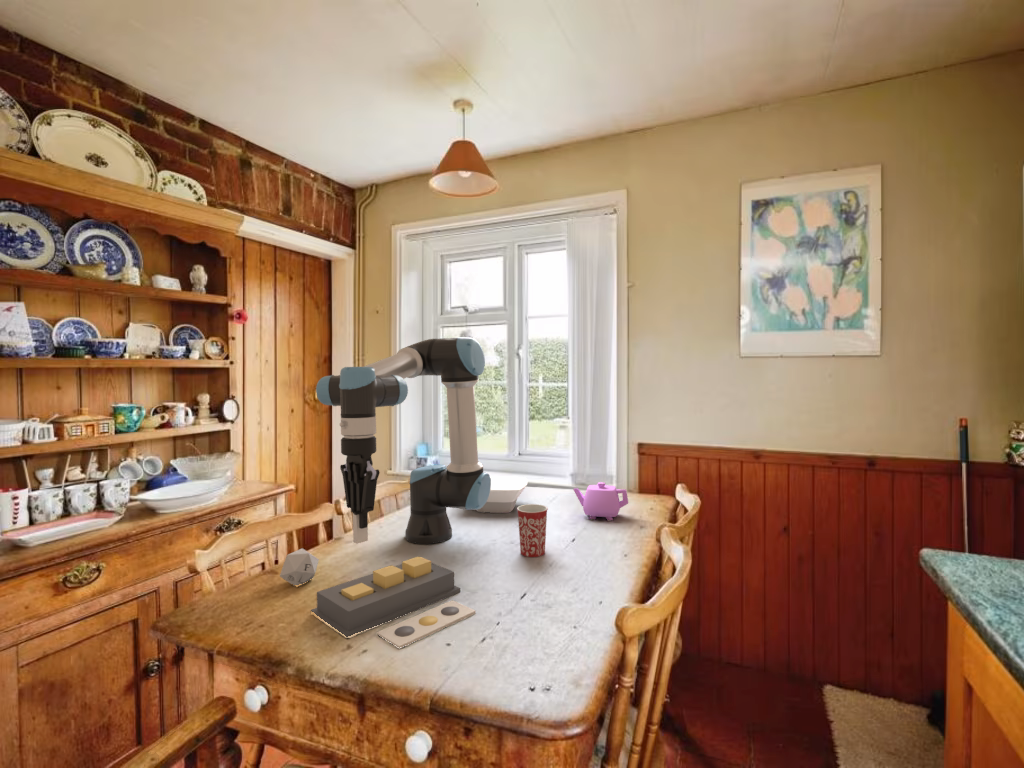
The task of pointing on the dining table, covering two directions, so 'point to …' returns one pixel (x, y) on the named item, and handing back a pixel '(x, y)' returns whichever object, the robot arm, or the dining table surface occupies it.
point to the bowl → (503, 494)
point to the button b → (388, 576)
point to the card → (426, 623)
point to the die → (299, 567)
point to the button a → (357, 591)
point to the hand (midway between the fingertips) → (360, 541)
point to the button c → (416, 567)
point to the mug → (532, 529)
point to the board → (383, 600)
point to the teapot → (602, 500)
